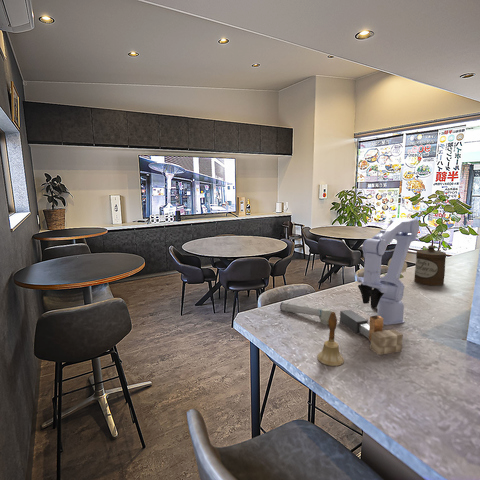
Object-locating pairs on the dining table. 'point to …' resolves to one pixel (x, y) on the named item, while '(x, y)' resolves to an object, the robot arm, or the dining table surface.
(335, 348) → the hand bell
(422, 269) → the wooden container
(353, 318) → the sleeve
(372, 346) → the socket block
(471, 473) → the dining table surface
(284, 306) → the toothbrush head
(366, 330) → the brown and grey block
